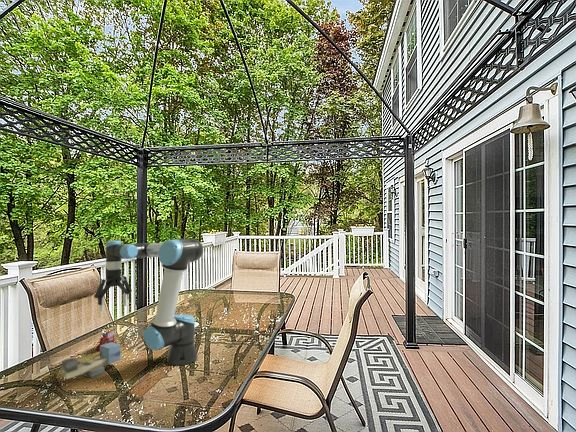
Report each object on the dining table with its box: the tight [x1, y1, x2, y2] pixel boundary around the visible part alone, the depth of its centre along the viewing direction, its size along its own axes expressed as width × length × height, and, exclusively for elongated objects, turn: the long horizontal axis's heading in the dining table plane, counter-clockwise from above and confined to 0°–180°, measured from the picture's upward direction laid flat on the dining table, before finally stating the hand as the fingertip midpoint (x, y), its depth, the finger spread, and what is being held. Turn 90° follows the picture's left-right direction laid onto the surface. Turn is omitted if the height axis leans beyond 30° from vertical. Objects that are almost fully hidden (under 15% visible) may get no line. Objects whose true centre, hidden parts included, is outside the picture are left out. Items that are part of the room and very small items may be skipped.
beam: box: [61, 352, 123, 380], centre depth 166 cm, size 7×26×10 cm, turn 149°
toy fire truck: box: [95, 329, 118, 353], centre depth 196 cm, size 7×12×10 cm, turn 172°
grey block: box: [100, 342, 121, 365], centre depth 173 cm, size 7×6×7 cm
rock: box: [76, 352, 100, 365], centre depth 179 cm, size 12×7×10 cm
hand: (113, 308), depth 191 cm, fingers open, 13 cm apart
